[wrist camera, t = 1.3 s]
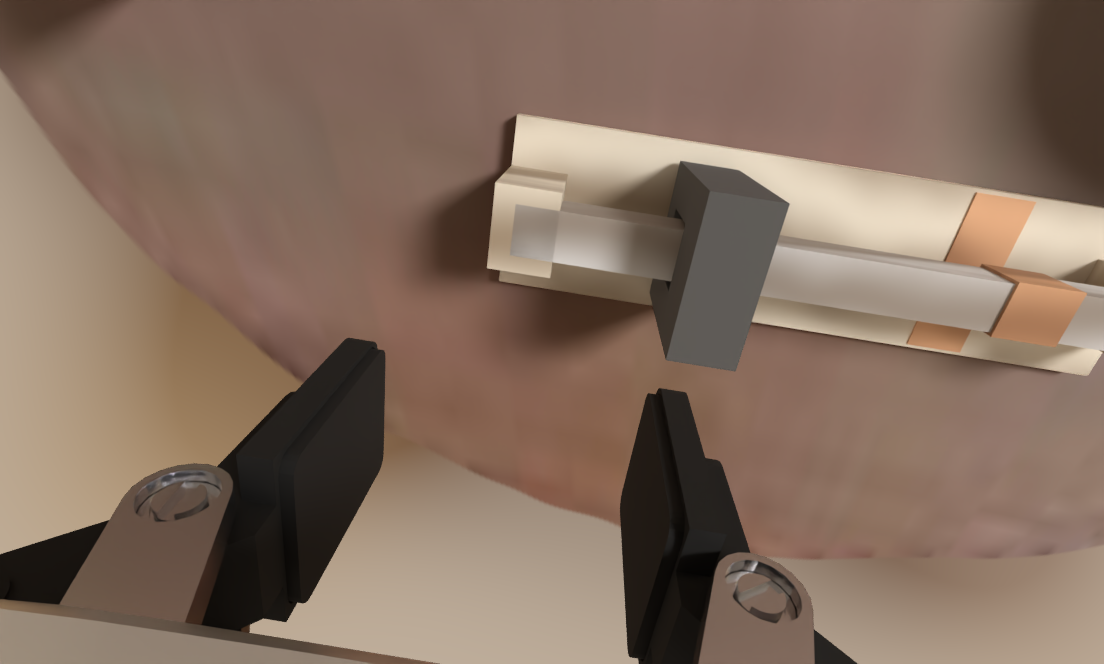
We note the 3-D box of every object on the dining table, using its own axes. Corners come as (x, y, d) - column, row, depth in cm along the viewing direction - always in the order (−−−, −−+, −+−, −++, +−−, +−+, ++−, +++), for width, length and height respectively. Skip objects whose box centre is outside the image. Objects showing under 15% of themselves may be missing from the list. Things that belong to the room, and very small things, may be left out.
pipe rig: (519, 113, 29) (500, 122, 23) (1166, 216, 29) (1307, 251, 23) (501, 275, 33) (481, 317, 27) (1073, 367, 33) (1175, 429, 27)
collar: (680, 160, 28) (709, 190, 21) (738, 170, 28) (789, 204, 21) (649, 292, 31) (665, 360, 24) (702, 301, 31) (735, 371, 24)
